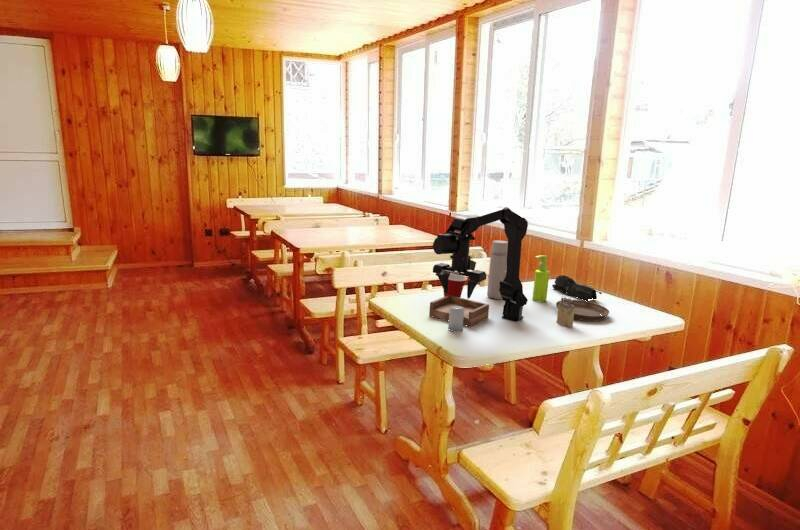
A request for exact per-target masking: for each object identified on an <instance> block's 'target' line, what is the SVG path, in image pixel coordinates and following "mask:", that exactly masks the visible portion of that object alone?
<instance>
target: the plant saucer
mask: <svg viewBox="0 0 800 530" xmlns="http://www.w3.org/2000/svg"><path fill="white" fill-rule="evenodd" d="M571 300H572V301H573V303H570V304H572V305H574V306H575V308H574V309H575V311H574V319H575V320H579V321H587V322H592V321H593V322H596V320H597V321H601V320H603V319H605V318H606V317H607V316H608V315H609V314H610V310H609V309H608V308H606V307H605V306H603V305H601V304H598V303H594V302H592V301H589V302H586V301H583V300H580V299H571ZM559 302H561V300H559V301H556V303H555V306H556V309H558V307H559ZM563 302H564V300H563ZM566 302H567V301H566ZM567 303H568V302H567ZM600 314H601V315H602V316H601V315H600ZM574 319H573V320H574Z"/></svg>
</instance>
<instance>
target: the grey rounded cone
mask: <svg viewBox="0 0 800 530" xmlns="http://www.w3.org/2000/svg"><path fill="white" fill-rule="evenodd" d="M463 320H464V307H461V306H451V307H450V311H449V321H448V324H447V325H448V327H447V329H448V330H449V329H450V330H453V331H452V332H454V331H460V332H462V331H463V329H464V325H463ZM450 330H449V331H450ZM461 330H462V331H461Z"/></svg>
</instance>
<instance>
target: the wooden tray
mask: <svg viewBox="0 0 800 530" xmlns="http://www.w3.org/2000/svg"><path fill="white" fill-rule="evenodd" d="M451 306H461V307H464V320H463V326H465V325H467V326H466V327H469V326H470V328H471V326H472V327H474V326H475V324H476V325H478V324H479V322H480V323H481V321H482V322H483V321H485V320H488V319H489V313H490V312H489V311H490V304H489V303H484V302H481V301H475V300H471V299H468V298H464V297H460V298H459V297H455V296H451V295H448V296H445V297H444V296H443V297H440V298H437V299H435V300H433V301H430V302H429V314H428V316H429V317H431V316H433V317H432V318H435V317H437V318H436V319H439V318H440V319H439V320H442V319H445V320H444V321H446V320H449V311H450V307H451ZM473 325H474V326H473Z"/></svg>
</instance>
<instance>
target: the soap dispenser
mask: <svg viewBox="0 0 800 530" xmlns="http://www.w3.org/2000/svg"><path fill="white" fill-rule="evenodd" d="M534 257H535V258H537V259H540V258H541V261H540V262H538V263H539V264H538V269H536V270H535V271H534V273H535V274H534V282H533V290H532V301H534V300H535V301H534V302H538V301H540V302H539V303H543V302H544V301H545V302H547V296H548V288H549V287H548V286H549V279H550V270H548V263H547V258H549V256H547V255H543V254H540V255H536V256H534ZM542 301H543V302H542Z"/></svg>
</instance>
